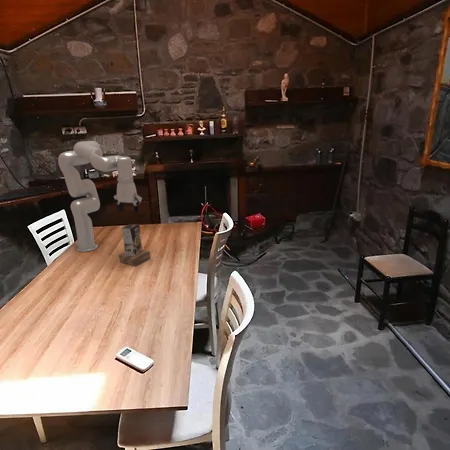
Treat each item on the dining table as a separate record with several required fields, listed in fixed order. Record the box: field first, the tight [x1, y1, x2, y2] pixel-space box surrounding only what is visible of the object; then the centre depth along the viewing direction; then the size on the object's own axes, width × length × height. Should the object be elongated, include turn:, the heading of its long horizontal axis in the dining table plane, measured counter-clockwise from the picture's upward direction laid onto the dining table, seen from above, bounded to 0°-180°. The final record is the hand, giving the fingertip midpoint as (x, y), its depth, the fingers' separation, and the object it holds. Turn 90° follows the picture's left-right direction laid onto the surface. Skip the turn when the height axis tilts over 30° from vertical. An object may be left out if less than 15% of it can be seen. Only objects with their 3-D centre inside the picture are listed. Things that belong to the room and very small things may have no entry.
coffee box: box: [121, 223, 143, 256], centre depth 195 cm, size 9×6×16 cm
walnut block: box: [118, 249, 151, 267], centre depth 198 cm, size 12×12×5 cm
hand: (129, 211), depth 190 cm, fingers open, 9 cm apart
